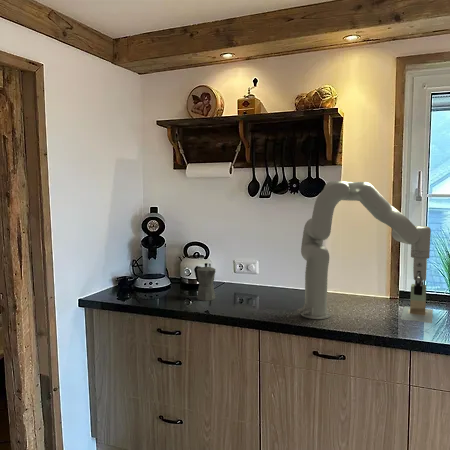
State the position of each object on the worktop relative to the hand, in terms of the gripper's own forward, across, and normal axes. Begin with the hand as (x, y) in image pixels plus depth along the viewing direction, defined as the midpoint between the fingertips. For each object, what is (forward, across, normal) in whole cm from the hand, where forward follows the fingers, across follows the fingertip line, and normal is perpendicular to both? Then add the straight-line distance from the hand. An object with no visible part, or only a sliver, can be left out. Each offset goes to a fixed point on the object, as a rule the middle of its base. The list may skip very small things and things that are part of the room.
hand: (418, 292), depth 195 cm
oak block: (+9, 0, 0) cm, 9 cm away
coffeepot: (+10, -18, +98) cm, 100 cm away
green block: (+3, 0, 0) cm, 3 cm away
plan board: (+10, -3, 0) cm, 10 cm away
